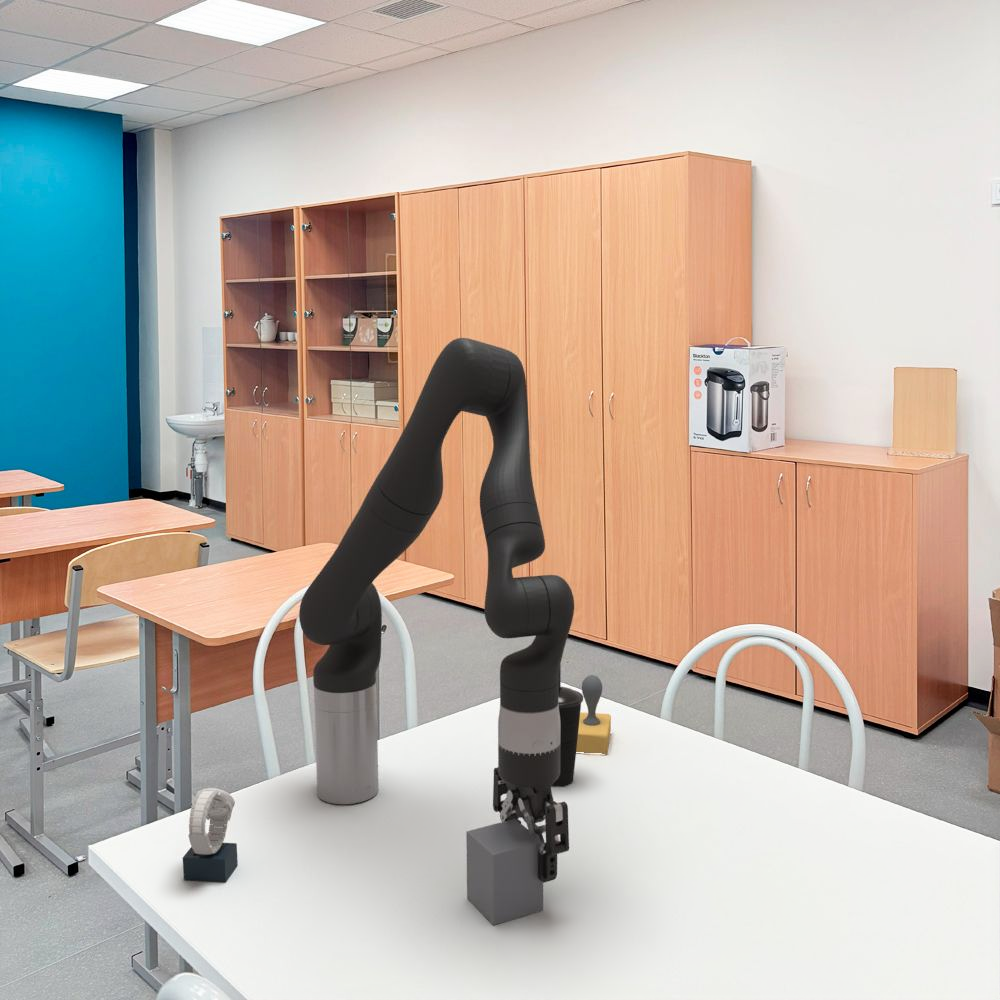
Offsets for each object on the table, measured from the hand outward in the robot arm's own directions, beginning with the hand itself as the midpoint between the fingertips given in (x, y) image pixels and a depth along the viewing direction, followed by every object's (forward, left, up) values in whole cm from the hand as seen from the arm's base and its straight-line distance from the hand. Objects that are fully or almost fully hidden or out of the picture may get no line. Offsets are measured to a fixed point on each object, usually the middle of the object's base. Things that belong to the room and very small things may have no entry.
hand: (529, 864), depth 129 cm
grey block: (0, -4, -4) cm, 5 cm away
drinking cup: (-27, +21, -4) cm, 34 cm away
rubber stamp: (-37, +34, -4) cm, 50 cm away
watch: (-25, -33, -4) cm, 42 cm away
